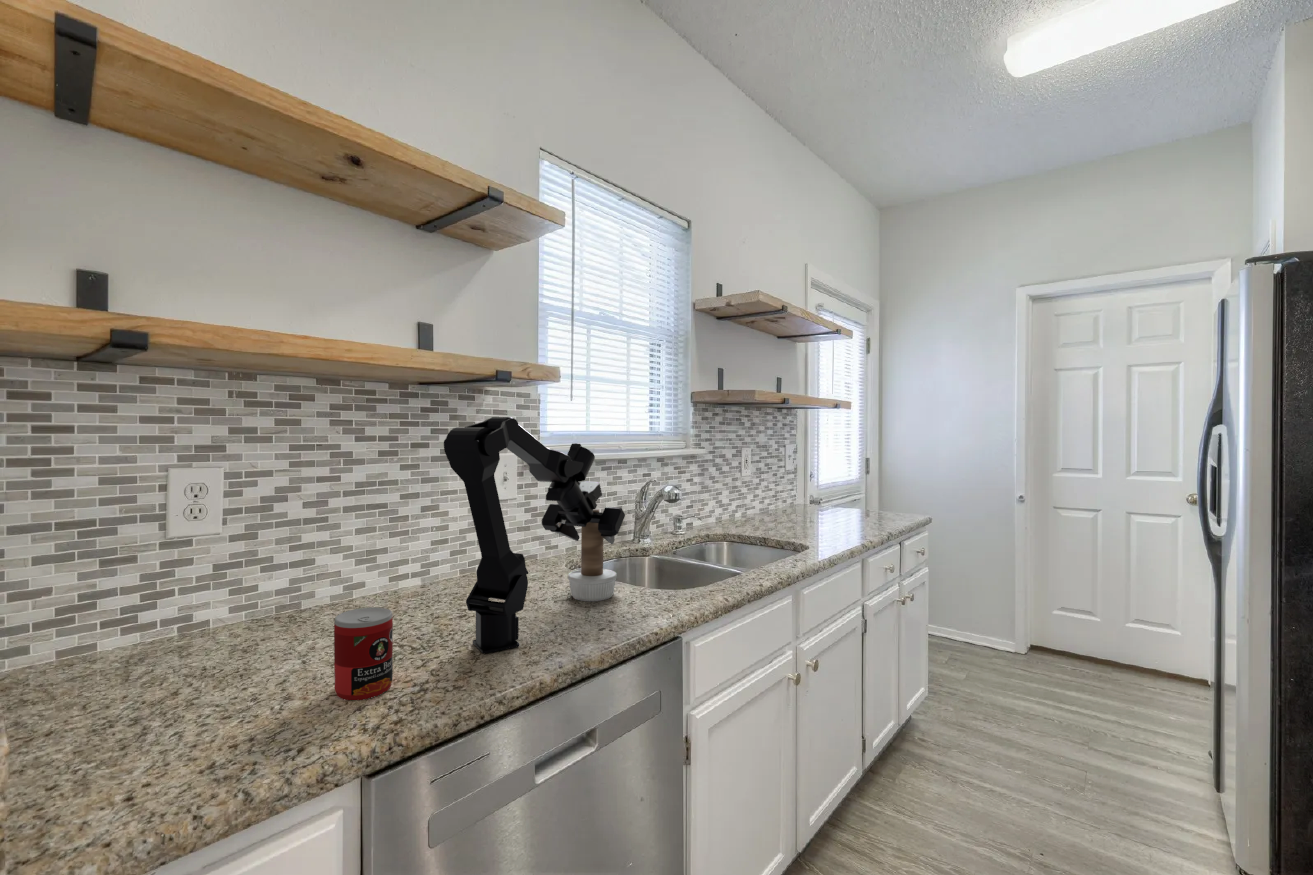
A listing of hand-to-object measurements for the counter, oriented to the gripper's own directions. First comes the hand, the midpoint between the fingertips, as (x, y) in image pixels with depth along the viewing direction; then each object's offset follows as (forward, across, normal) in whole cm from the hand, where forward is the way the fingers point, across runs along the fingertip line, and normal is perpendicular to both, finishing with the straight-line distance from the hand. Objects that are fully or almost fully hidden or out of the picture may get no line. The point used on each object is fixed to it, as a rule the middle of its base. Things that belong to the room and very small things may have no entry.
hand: (595, 540), depth 139 cm
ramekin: (+8, 0, +10) cm, 13 cm away
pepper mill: (+4, 0, +6) cm, 7 cm away
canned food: (-32, +6, +50) cm, 60 cm away
